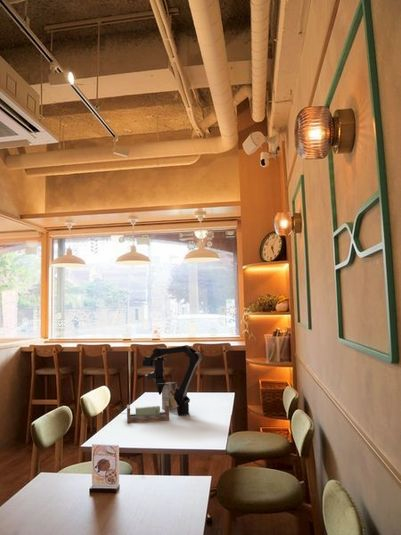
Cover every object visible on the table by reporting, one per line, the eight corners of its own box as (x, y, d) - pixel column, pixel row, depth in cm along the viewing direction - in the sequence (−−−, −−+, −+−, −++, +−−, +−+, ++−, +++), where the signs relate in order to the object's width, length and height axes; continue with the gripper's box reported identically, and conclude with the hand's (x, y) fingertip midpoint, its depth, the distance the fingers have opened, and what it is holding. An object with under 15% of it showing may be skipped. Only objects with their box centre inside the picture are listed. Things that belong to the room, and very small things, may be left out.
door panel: (159, 416, 250) (159, 405, 251) (159, 417, 247) (159, 407, 248) (135, 417, 248) (135, 407, 248) (135, 419, 244) (135, 408, 245)
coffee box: (171, 406, 282) (170, 381, 284) (178, 407, 278) (178, 382, 280) (161, 408, 275) (161, 383, 276) (169, 409, 271) (168, 384, 273)
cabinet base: (167, 416, 254) (167, 402, 255) (169, 420, 244) (169, 406, 245) (127, 418, 250) (127, 404, 251) (127, 423, 240) (127, 408, 241)
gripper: (145, 366, 274) (145, 391, 272) (147, 370, 256) (147, 396, 254) (162, 365, 276) (162, 390, 274) (165, 369, 258) (165, 395, 256)
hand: (159, 393), depth 265 cm, fingers open, 9 cm apart
